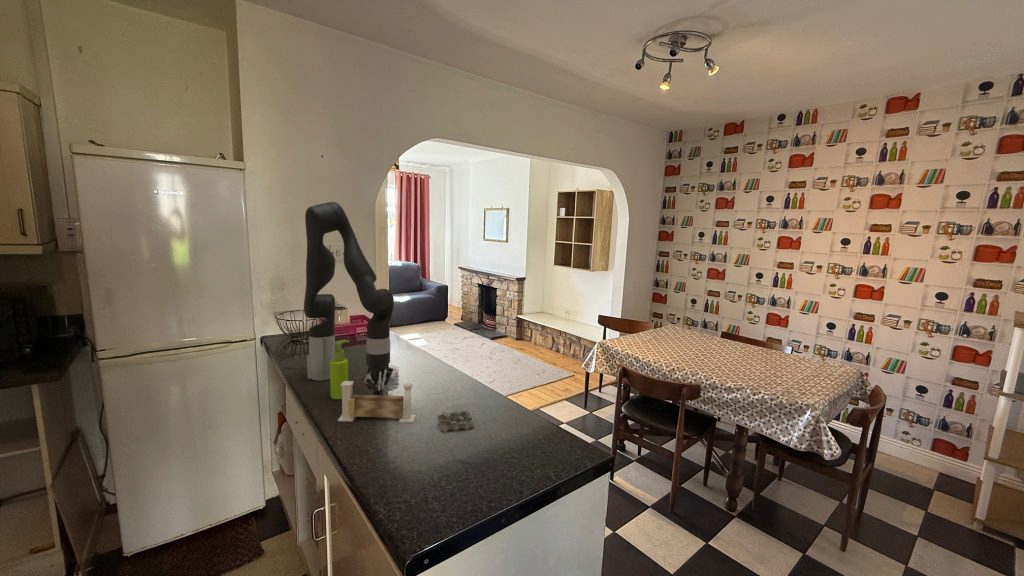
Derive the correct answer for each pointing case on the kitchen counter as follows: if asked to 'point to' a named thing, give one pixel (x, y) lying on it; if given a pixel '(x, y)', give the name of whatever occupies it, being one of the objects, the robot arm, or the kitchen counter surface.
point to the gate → (378, 406)
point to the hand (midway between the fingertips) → (378, 399)
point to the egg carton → (459, 417)
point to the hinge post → (407, 405)
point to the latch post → (347, 402)
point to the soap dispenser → (338, 371)
